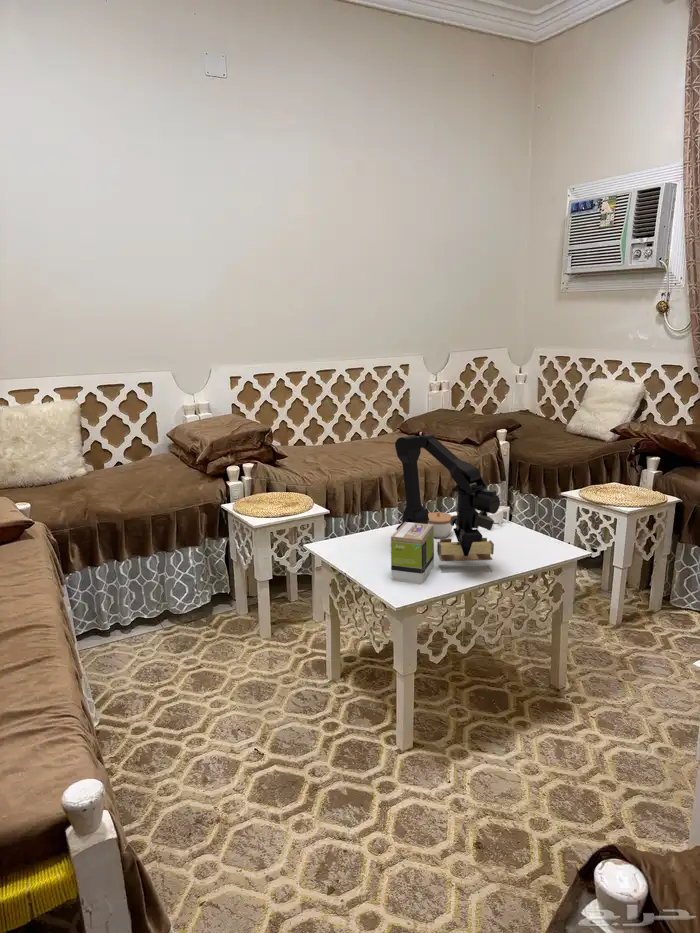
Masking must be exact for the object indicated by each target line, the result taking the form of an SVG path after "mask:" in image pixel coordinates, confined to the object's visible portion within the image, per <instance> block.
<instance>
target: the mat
mask: <svg viewBox="0 0 700 933" xmlns="http://www.w3.org/2000/svg"><path fill="white" fill-rule="evenodd" d="M438 568H439V570H440V572H441V574H446V573H447V574H449V573H450V574H451V573H452V574H453V573H482V572H483V573H486V572H488V573H489V572H491V573H492V572H493V570H492V569H491V567H490V566H489V565H466V564H465V565H464V564H463V565H459V564H458V565H455V564H453V565H452V564H450V565H447V564H439V565H438Z"/></svg>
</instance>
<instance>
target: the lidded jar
mask: <svg viewBox="0 0 700 933" xmlns="http://www.w3.org/2000/svg"><path fill="white" fill-rule="evenodd" d="M452 516H453V515H452V514H449V513H446V512H440V511H437V512H435V511H434V512H428V517H429V520H428V524H433V525H434V539H445V538H447V537H448V536H449V535H450V534H451V532H452V530H453V526H452V525H451V524H450V522H451V517H452Z"/></svg>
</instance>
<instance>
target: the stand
mask: <svg viewBox="0 0 700 933" xmlns="http://www.w3.org/2000/svg"><path fill="white" fill-rule="evenodd" d="M485 541H488V537H482V542H485ZM439 542H440V543H443V542H452V538H439ZM437 556H438V557H439V560H440V562H452V561H453V562H455V561H457V562H458V561H459V562H460V561H462V562H463V561H491V560H493V558H492V556H491V554H468V556H464V554H457V555H441V556H439V554H438V553H437Z"/></svg>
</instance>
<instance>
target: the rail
mask: <svg viewBox="0 0 700 933" xmlns="http://www.w3.org/2000/svg"><path fill="white" fill-rule="evenodd" d="M436 544H437V546H436V548H437V550H436V551H437V552H436V553H437V555H438V554H439V556H441V555H457V554H464V553H463V551H462V548H461V545H460V542H458V541H456V542H455V541H454V542H452V541H451V542H443V543H440V541H437V542H436ZM494 546H495V544H494V542H493V541H492V540H489V541H488V540H487V541H485V542H473V543H472V545H471V548H470V551H469V554H490V555H494V549H495V547H494ZM439 556H438V557H439Z"/></svg>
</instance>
